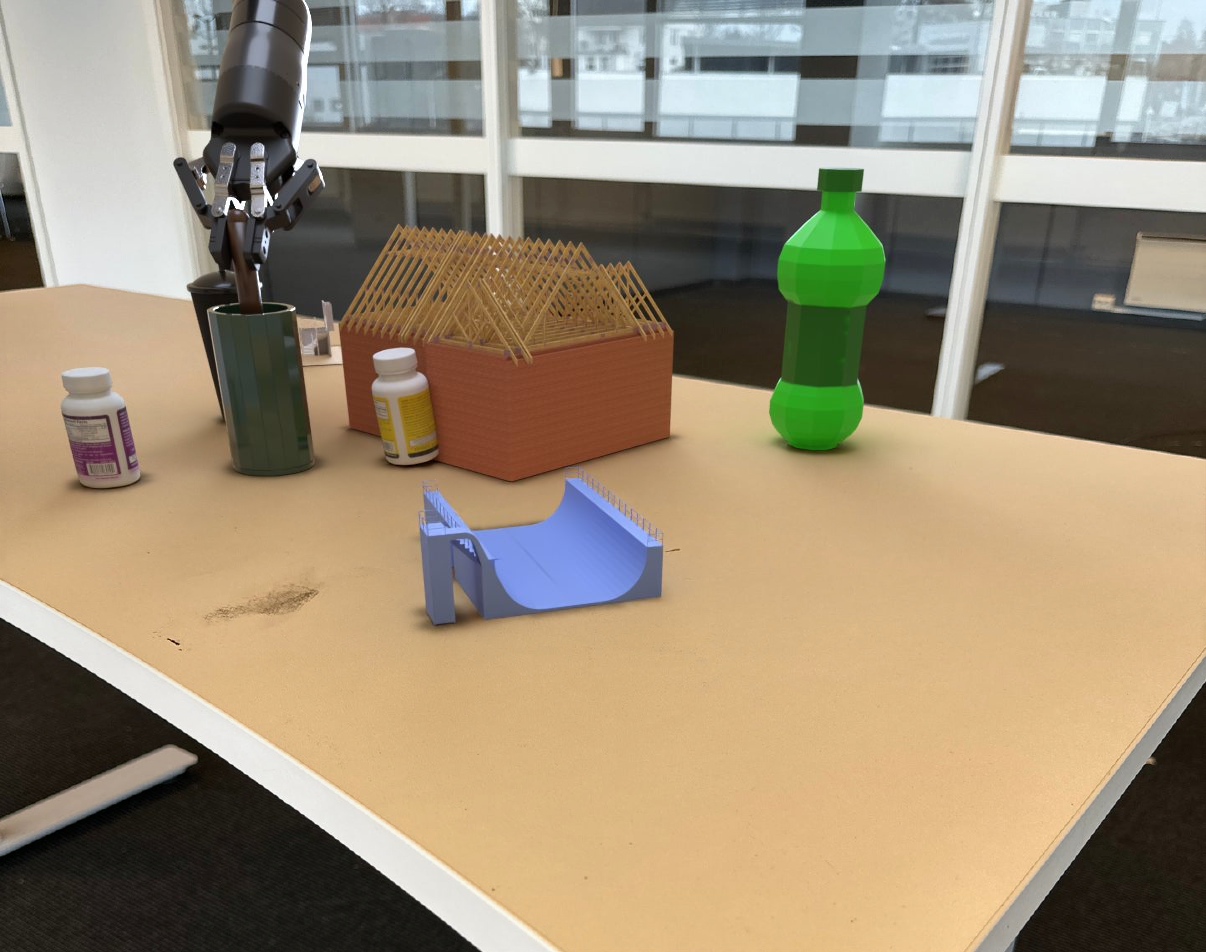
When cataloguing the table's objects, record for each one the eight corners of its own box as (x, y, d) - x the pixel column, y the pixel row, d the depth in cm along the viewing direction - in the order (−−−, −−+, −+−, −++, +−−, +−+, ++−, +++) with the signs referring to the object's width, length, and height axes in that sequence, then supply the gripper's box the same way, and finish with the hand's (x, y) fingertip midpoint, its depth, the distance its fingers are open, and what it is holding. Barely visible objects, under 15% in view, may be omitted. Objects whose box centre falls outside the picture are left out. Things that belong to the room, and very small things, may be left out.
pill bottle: (113, 470, 106) (89, 363, 101) (153, 478, 104) (131, 368, 99) (66, 484, 102) (38, 373, 97) (107, 492, 100) (81, 379, 95)
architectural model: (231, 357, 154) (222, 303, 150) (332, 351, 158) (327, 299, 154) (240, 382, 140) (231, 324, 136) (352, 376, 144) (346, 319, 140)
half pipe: (661, 598, 80) (665, 498, 76) (434, 628, 75) (426, 522, 71) (578, 523, 94) (578, 436, 90) (384, 544, 89) (375, 453, 85)
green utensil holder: (216, 470, 106) (188, 311, 99) (267, 451, 112) (245, 300, 105) (281, 480, 104) (257, 317, 96) (330, 460, 110) (311, 305, 102)
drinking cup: (269, 407, 128) (240, 211, 118) (289, 421, 123) (262, 217, 112) (201, 415, 125) (166, 214, 115) (220, 429, 120) (184, 219, 109)
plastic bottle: (752, 432, 120) (773, 166, 107) (848, 431, 121) (880, 166, 108) (774, 457, 112) (799, 171, 99) (876, 455, 113) (914, 171, 100)
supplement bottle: (447, 446, 111) (430, 344, 105) (430, 466, 107) (411, 360, 101) (396, 447, 112) (376, 346, 107) (377, 467, 108) (356, 362, 102)
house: (673, 437, 118) (681, 234, 108) (514, 482, 103) (506, 252, 93) (492, 397, 134) (484, 216, 124) (332, 431, 119) (308, 229, 109)
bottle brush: (238, 446, 106) (199, 209, 95) (267, 436, 109) (233, 205, 99) (275, 452, 105) (240, 211, 94) (304, 441, 108) (273, 207, 97)
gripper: (168, 61, 97) (139, 232, 94) (324, 62, 97) (300, 234, 93) (202, 131, 105) (176, 292, 101) (347, 132, 104) (326, 294, 100)
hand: (236, 263), depth 97 cm, fingers closed on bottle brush, 2 cm apart
